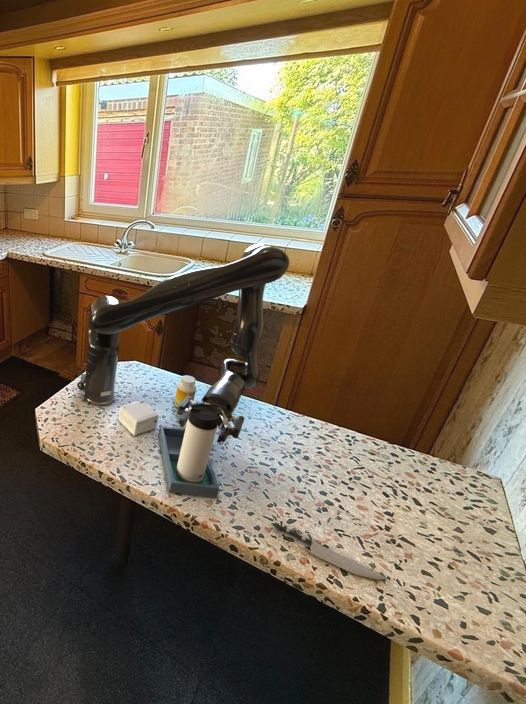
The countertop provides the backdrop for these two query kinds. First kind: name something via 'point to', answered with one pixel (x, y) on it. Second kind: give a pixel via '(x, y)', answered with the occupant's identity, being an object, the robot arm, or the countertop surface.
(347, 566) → the chef's knife
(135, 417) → the small box
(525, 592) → the countertop surface
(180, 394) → the supplement bottle
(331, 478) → the countertop surface
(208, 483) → the tray
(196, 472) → the travel mug
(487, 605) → the countertop surface
